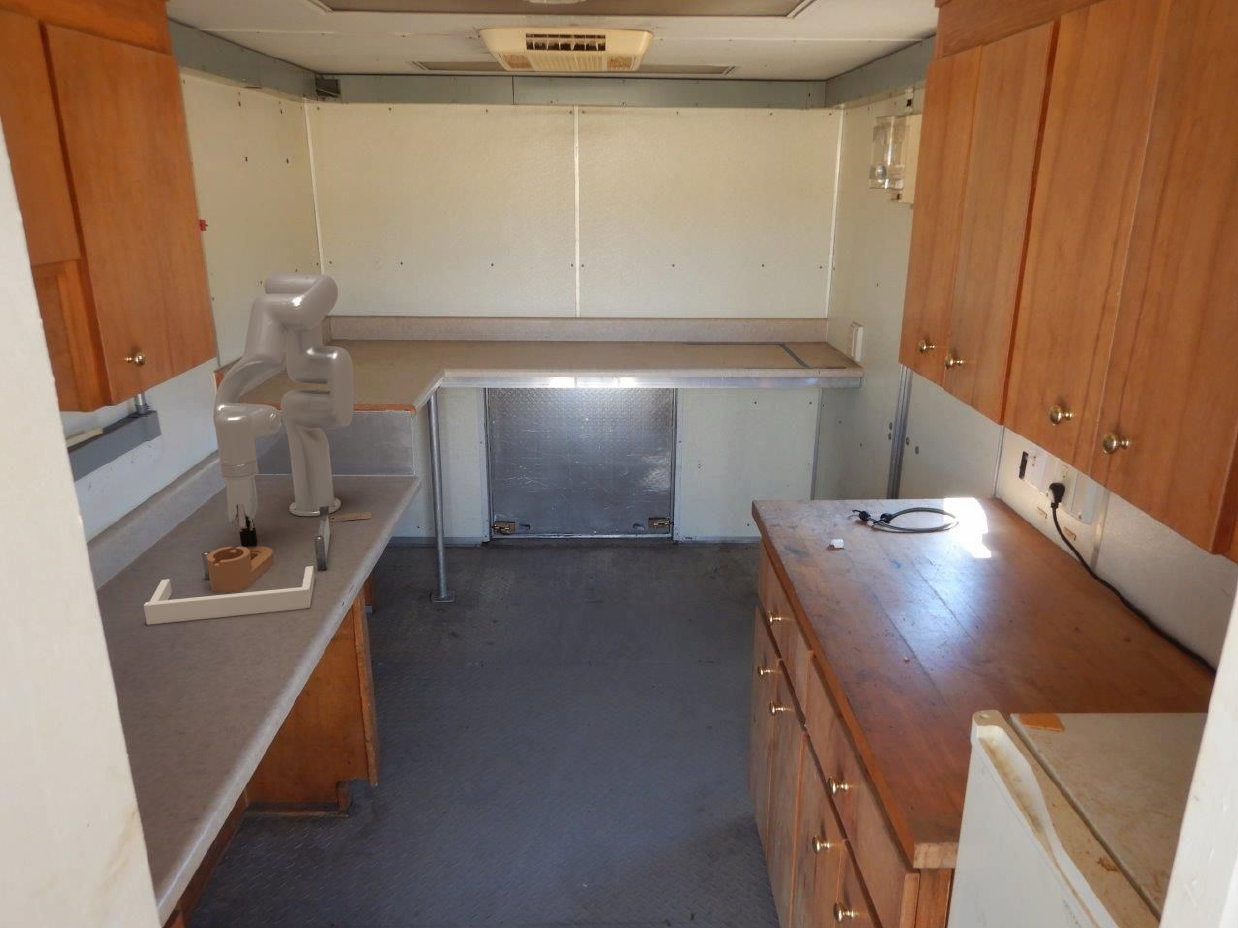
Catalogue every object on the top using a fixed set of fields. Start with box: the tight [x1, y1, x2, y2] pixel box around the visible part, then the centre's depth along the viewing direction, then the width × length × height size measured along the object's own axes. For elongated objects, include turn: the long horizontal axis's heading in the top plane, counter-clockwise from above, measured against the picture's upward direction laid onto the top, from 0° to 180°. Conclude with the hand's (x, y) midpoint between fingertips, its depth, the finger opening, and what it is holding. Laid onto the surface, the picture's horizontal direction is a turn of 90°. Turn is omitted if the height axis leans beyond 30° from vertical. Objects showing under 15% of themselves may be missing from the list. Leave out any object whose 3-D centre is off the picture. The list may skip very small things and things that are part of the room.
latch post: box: [201, 550, 211, 581], centre depth 186 cm, size 2×2×6 cm
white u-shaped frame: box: [143, 565, 316, 625], centre depth 176 cm, size 14×30×4 cm, turn 105°
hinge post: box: [313, 535, 328, 572], centre depth 190 cm, size 2×2×8 cm
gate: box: [317, 506, 331, 561], centre depth 201 cm, size 18×2×8 cm, turn 15°
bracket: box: [207, 546, 275, 593], centre depth 188 cm, size 18×8×7 cm, turn 176°
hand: (249, 545), depth 197 cm, fingers closed
